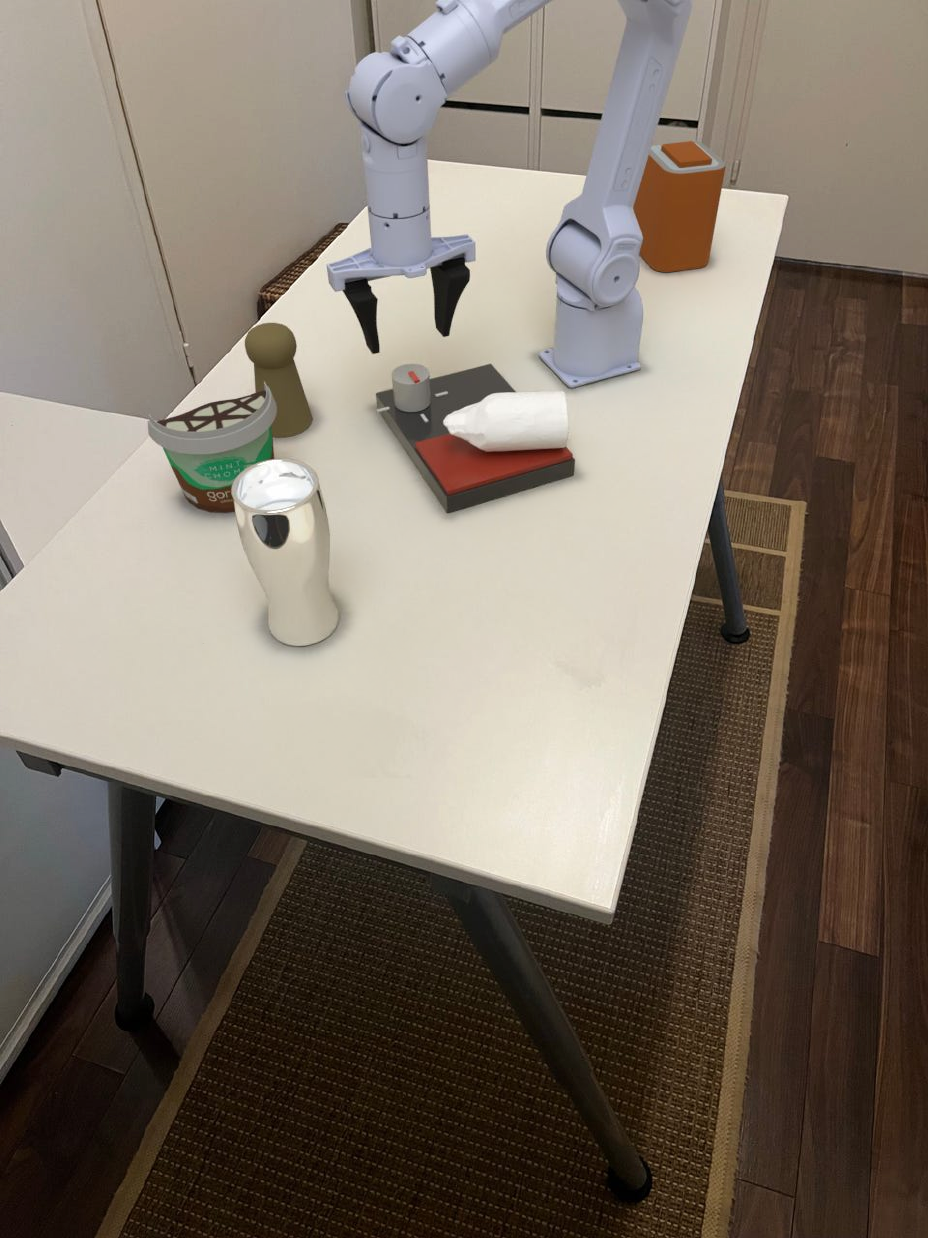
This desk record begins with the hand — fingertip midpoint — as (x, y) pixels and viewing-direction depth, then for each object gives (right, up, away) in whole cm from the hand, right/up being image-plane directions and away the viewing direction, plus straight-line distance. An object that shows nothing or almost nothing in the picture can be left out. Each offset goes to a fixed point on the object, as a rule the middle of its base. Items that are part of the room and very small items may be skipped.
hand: (408, 340), depth 95 cm
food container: (-17, -17, -2) cm, 24 cm away
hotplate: (+9, -12, -1) cm, 15 cm away
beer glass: (-8, -29, -14) cm, 33 cm away
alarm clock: (+34, +23, +34) cm, 53 cm away
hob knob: (0, -5, +5) cm, 7 cm away
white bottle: (+10, -11, -1) cm, 15 cm away
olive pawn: (-14, -7, +7) cm, 17 cm away
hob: (+6, -9, +4) cm, 12 cm away
